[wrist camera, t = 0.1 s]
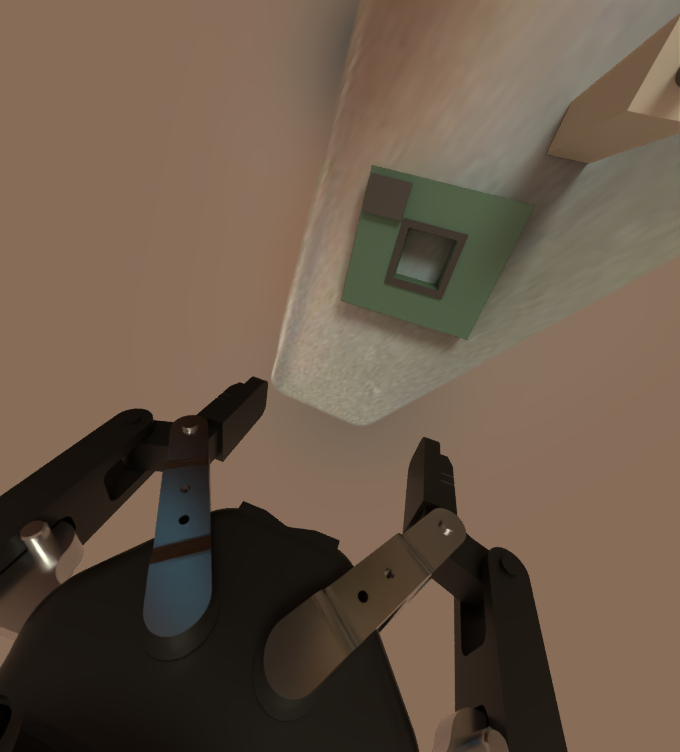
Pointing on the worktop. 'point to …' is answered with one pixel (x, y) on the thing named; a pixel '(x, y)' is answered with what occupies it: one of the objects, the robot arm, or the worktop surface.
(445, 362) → the worktop surface
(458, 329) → the green square socket base
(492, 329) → the worktop surface
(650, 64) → the plug
